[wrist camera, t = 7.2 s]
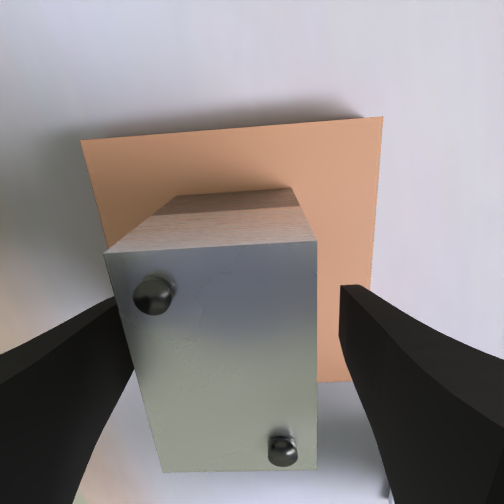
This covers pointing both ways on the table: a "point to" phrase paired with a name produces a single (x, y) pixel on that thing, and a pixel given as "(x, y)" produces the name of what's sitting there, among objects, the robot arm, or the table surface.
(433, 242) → the table surface
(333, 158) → the stand
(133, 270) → the block
